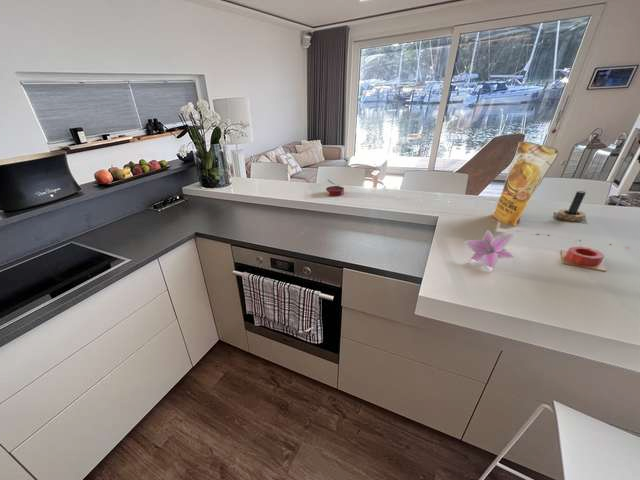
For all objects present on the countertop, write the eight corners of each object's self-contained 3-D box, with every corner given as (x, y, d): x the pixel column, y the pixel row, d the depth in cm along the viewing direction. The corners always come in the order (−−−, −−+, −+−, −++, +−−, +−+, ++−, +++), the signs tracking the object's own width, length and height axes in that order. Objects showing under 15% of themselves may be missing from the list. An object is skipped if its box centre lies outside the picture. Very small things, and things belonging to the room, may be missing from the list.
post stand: (583, 218, 108) (597, 189, 102) (586, 227, 102) (600, 196, 96) (552, 215, 113) (563, 187, 107) (552, 222, 107) (565, 194, 101)
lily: (458, 255, 95) (458, 237, 88) (495, 240, 92) (499, 220, 85) (480, 283, 87) (482, 265, 80) (522, 267, 84) (528, 248, 77)
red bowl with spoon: (328, 199, 166) (329, 182, 166) (345, 198, 162) (346, 181, 162) (322, 196, 156) (323, 177, 156) (341, 194, 152) (341, 176, 151)
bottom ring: (582, 216, 107) (584, 210, 106) (583, 222, 102) (586, 217, 101) (556, 213, 111) (558, 208, 110) (557, 219, 106) (559, 214, 105)
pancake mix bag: (505, 212, 119) (529, 139, 105) (531, 231, 103) (563, 148, 89) (487, 212, 120) (508, 141, 106) (509, 231, 104) (538, 149, 90)
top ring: (598, 257, 84) (602, 249, 83) (601, 268, 80) (605, 260, 78) (565, 251, 88) (568, 244, 87) (566, 262, 84) (570, 254, 82)
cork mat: (601, 257, 85) (602, 256, 84) (605, 271, 79) (606, 270, 79) (560, 251, 90) (561, 250, 89) (562, 263, 84) (562, 262, 84)
